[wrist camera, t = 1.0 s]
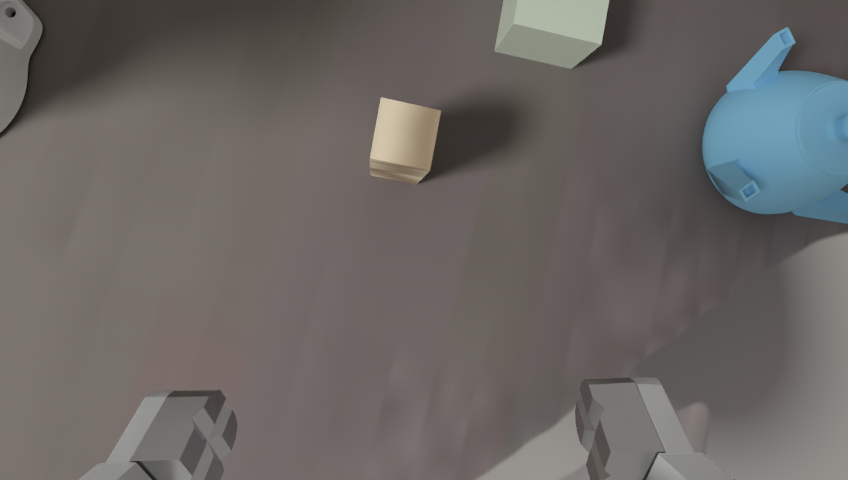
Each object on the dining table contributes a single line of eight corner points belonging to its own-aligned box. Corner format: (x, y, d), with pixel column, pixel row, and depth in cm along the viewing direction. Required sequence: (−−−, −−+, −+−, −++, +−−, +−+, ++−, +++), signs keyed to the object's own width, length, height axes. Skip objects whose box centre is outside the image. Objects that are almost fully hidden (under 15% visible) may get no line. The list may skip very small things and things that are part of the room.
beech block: (370, 175, 42) (369, 158, 32) (379, 128, 42) (381, 97, 32) (416, 184, 43) (430, 170, 33) (425, 138, 43) (441, 110, 33)
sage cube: (494, 51, 43) (513, 23, 37) (508, -29, 43) (529, -70, 37) (570, 69, 44) (601, 44, 38) (584, -10, 44) (617, -47, 38)
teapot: (798, 237, 48) (922, 239, 37) (671, 205, 46) (763, 197, 35) (829, 99, 48) (961, 60, 37) (704, 61, 46) (805, 10, 35)
